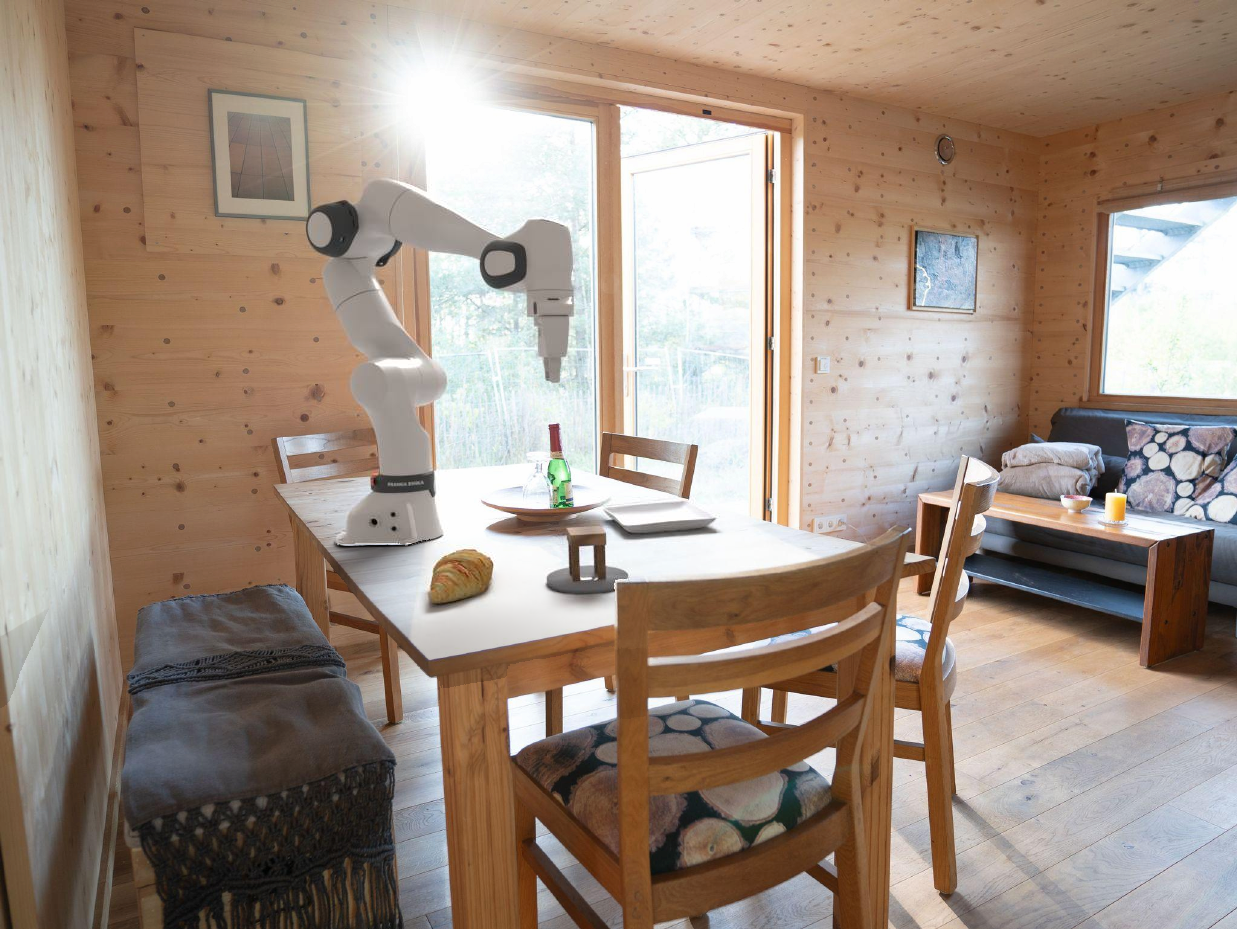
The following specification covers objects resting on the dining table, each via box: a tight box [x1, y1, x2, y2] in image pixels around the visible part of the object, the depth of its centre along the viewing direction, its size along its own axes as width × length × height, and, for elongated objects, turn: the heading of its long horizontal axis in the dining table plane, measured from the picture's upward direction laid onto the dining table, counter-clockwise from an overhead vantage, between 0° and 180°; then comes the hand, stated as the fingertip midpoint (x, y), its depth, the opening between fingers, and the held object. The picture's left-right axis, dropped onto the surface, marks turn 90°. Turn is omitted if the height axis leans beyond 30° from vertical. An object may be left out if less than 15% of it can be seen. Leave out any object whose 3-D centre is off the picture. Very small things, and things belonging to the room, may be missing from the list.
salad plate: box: [602, 500, 717, 535], centre depth 183 cm, size 21×21×3 cm
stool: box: [565, 525, 607, 582], centre depth 138 cm, size 6×6×8 cm
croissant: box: [428, 548, 494, 604], centre depth 136 cm, size 21×10×8 cm, turn 167°
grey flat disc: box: [546, 564, 629, 595], centre depth 139 cm, size 14×14×1 cm
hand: (552, 381), depth 153 cm, fingers open, 8 cm apart
